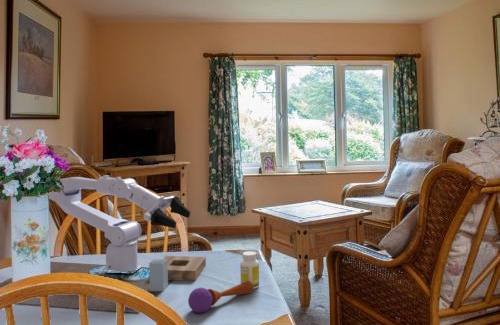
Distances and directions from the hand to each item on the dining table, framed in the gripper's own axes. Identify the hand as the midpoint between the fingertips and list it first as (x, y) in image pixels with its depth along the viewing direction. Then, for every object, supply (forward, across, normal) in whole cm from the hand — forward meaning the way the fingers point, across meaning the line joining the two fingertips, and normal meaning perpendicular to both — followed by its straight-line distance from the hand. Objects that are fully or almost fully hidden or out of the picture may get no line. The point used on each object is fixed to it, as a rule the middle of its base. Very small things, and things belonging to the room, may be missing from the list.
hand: (182, 220), depth 122 cm
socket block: (+4, -1, +18) cm, 19 cm away
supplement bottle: (+28, -3, +7) cm, 29 cm away
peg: (+5, -14, +14) cm, 21 cm away
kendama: (+25, -16, +5) cm, 30 cm away
